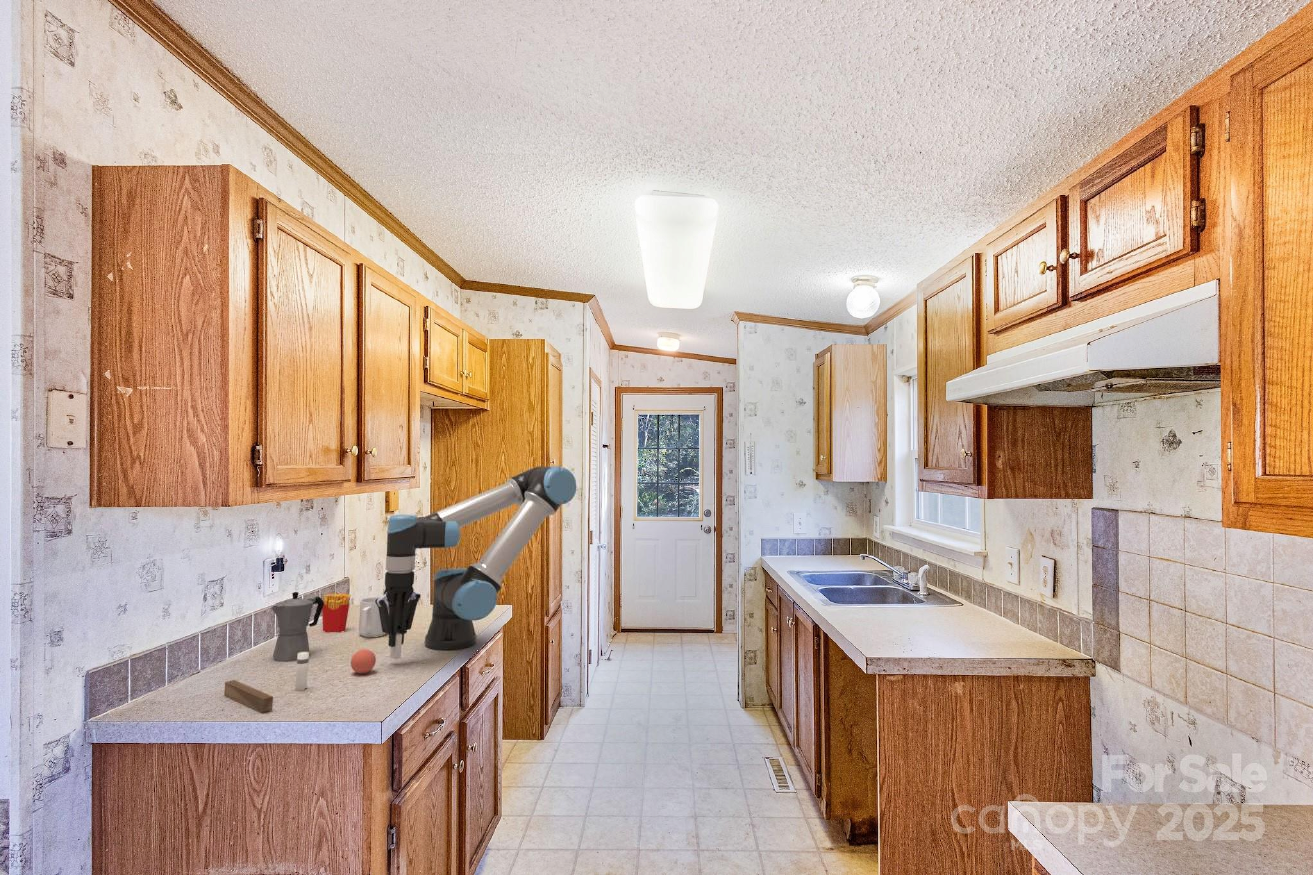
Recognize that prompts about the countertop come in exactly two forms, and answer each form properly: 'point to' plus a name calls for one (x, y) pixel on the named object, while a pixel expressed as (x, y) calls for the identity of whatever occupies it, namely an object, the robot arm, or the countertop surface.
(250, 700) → the long wooden block
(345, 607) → the french fries
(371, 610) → the mug
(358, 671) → the ball
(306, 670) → the pin
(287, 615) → the coffeepot
